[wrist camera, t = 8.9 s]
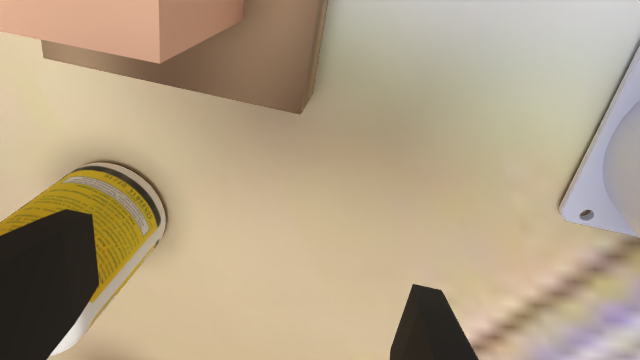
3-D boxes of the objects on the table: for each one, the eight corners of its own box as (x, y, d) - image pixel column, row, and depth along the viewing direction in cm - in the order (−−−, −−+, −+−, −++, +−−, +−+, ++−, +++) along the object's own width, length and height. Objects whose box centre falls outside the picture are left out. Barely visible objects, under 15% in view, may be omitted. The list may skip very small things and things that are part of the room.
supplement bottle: (68, 143, 22) (-146, 276, 13) (175, 180, 22) (29, 335, 13) (67, 230, 25) (-112, 387, 16) (162, 262, 25) (34, 436, 16)
